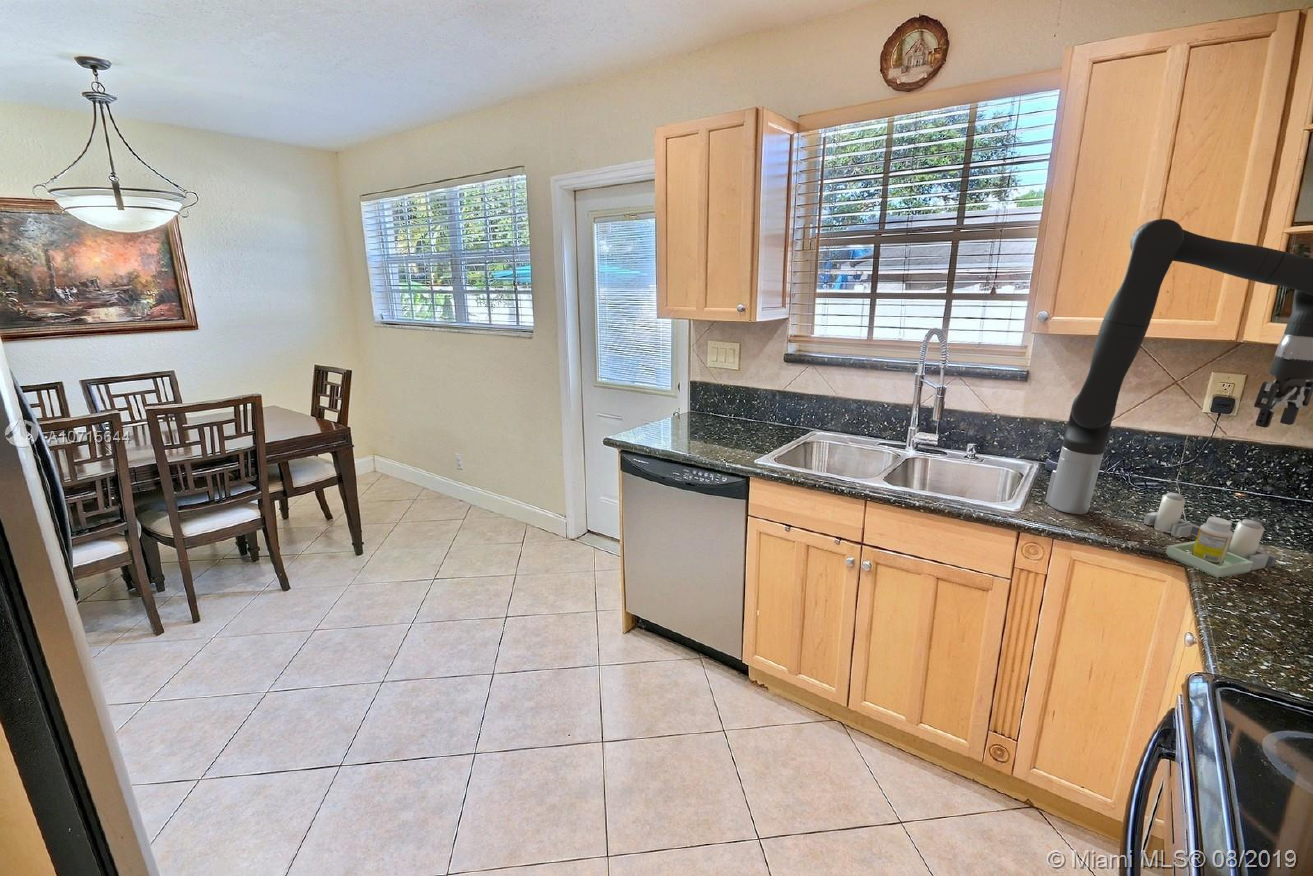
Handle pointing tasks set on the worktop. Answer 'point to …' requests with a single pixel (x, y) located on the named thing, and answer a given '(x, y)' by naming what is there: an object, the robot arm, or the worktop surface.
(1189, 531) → the fuse holder
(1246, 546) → the fuse
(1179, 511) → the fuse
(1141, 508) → the worktop surface
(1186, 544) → the tray
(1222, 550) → the supplement bottle
